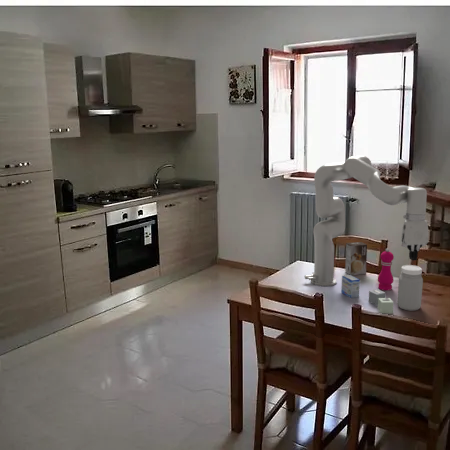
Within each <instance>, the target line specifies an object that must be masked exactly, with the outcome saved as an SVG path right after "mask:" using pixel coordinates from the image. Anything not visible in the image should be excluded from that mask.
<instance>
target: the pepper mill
mask: <svg viewBox="0 0 450 450" xmlns="http://www.w3.org/2000/svg"><path fill="white" fill-rule="evenodd" d="M394 257H395V256H394V254H393V253H392V252H391V251H390V248H385V251H382V253H381V254H380V257H379V258H380V260H381V264H380V265H381V271H380V273H379V274H378V277H377V282H378V286H377V287H378V290H381V291H391V290H392V289H393V285H392V284H393V283H394V277H393V274H392V271H391V270H392V269H391V267H392V265H393V260H394V259H395V258H394Z"/></svg>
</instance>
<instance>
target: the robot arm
mask: <svg viewBox="0 0 450 450" xmlns="http://www.w3.org/2000/svg"><path fill="white" fill-rule="evenodd" d="M380 177H381V171H380V170H379V169H378V168H375V167H374V166H372V160H370V158H369V157H367V156H365V155H355V156H350V157H348V158H346V160H344V161H342V162H331V163H326V164H324V165H322V166H320V167H319V168H317V170H316V171H315V173H314V178H313V179H314V181H313V182H314V188H315V213H316V215H317V217H318V218H320V219H321V218H322V219H325V220H321V221H319V222H317V223H316V224H315V225H314V227H313V229H312V231H313V232H312V233H313V239H314V240H313V241H314V267H313V269H314V272H312V273H311V274H308V275H307V274H306V275H304V279H305V280H308V281H310V282H311V284H312V285H315V286H319V287H332V286H335V285H336V284H337V279H336V278H334V272H335V271H334V270H335V269H334V268H335V266H334V265H335V245H334V242H333V239H334V238H338V237H341V236H342V235H343V234H344V232H345V230H346V208H345V207H346V205H345V203H344V201H343V200H342V198H340V197H339V196H334V187H333V185H332V182H335V181H336V182H337V181H343V180H347V179H351V178H353V179H354V180H357V181H358V182H360V183H362V184H363V185H364V186H366V187H367V188H368V190H369V192H370V193H371V194H372V195H373V196H374V197H375V198H376V199H378V200H380V202H383V203H385V204H386V205H390V206H396V205H397V206H398V205H401V204H406V211H405V214H404V215H403V219H405V220H404V222H403V225H402V230H401V247H403V248H407V249H408V250H409V251H408V252H409V253H408V254H409V255H408V257H409V259H410V260H411V261H418V257H419V252H420V249H421V248H422V247H424V246H427V244H428V243H429V225H428V220H426V214H427V213H426V211H427V196H428V192H427V189H426V188H424V187H413V186H408V185H397V186H396V185H395V186H390V185H389V184H387V183H386V182H384V181H383V180H381V178H380Z"/></svg>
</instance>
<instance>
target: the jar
mask: <svg viewBox="0 0 450 450" xmlns="http://www.w3.org/2000/svg"><path fill="white" fill-rule="evenodd" d="M422 271H423V268H421V267H420V266H418V265H415V264H413V265H412V264H405V265H402V266H401V268H400V275H399V277H398V289H397V302H396V304H397V306H398V307H399V308H400V309H402V310H405V311H409V312H410V311H411V312H412V311H418V310H419V309H420V308H421V307H422V306H421V305H422V297H423V296H422V295H423V285H424V284H423V283H424V279H423V277H422V273H423V272H422Z"/></svg>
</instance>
